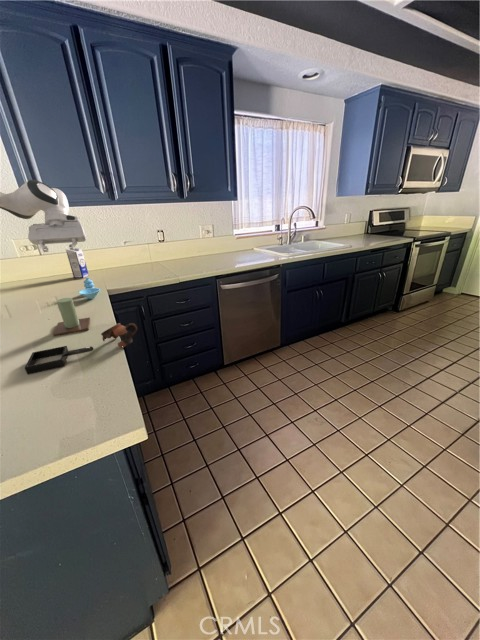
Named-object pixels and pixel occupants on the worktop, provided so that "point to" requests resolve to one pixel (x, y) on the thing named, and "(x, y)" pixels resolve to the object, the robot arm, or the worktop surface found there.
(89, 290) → the blue conch shell
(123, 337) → the brown irregular piece
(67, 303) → the pale green cylinder
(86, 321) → the board
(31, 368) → the pan
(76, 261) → the milk carton
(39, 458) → the worktop surface
